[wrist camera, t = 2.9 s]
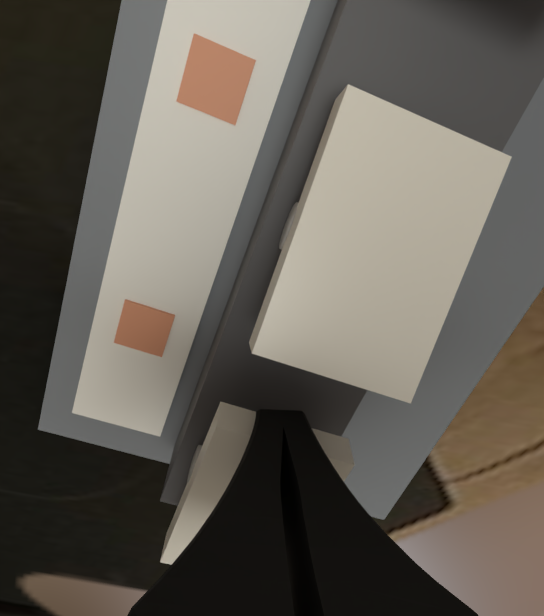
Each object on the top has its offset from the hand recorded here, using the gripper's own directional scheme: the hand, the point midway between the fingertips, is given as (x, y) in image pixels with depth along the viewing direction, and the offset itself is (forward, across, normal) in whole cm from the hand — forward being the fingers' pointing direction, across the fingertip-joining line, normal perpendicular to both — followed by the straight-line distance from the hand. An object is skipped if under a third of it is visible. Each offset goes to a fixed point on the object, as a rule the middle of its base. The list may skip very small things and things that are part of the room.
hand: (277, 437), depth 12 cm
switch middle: (+1, -2, -5) cm, 6 cm away
